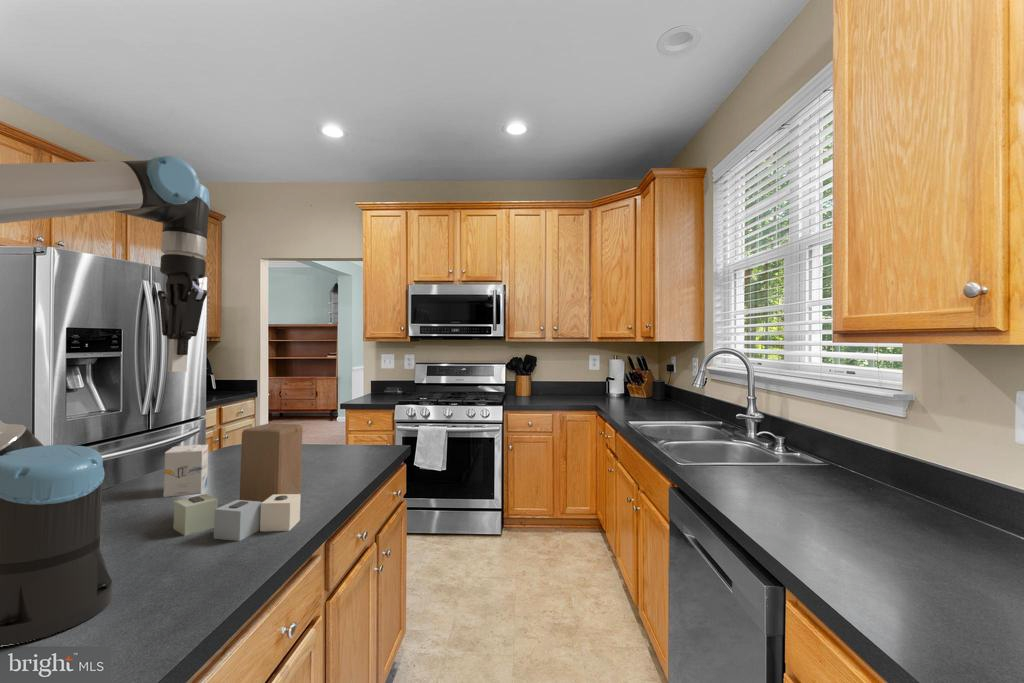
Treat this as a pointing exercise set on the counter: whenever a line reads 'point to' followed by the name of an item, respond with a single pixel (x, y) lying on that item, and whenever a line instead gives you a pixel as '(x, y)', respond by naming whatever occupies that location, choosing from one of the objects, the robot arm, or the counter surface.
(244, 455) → the wooden block
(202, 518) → the marked cube sage
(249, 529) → the marked cube slate
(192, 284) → the robot arm
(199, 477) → the ink box
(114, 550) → the counter surface
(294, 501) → the marked cube cream
